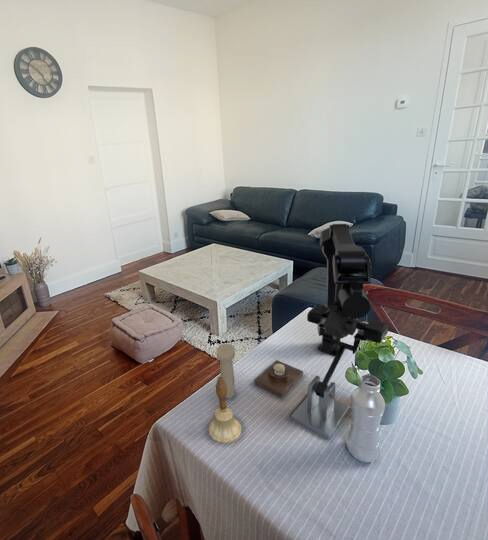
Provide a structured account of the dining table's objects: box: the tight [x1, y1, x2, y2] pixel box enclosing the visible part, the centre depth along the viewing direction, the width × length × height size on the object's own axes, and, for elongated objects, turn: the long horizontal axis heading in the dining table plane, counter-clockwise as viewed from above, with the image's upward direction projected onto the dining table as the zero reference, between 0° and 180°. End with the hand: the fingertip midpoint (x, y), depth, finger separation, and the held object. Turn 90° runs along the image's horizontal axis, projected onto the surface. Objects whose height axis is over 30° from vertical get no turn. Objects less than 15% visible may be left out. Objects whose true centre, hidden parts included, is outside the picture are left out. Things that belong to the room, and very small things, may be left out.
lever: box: [314, 340, 354, 398], centre depth 86 cm, size 16×5×2 cm, turn 136°
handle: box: [216, 343, 236, 399], centre depth 93 cm, size 5×6×15 cm
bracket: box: [290, 375, 350, 440], centre depth 84 cm, size 12×10×10 cm
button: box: [274, 364, 285, 375], centre depth 98 cm, size 3×3×2 cm
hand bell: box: [208, 376, 243, 444], centre depth 82 cm, size 8×8×16 cm
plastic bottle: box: [346, 374, 386, 463], centre depth 71 cm, size 6×7×20 cm
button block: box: [254, 359, 304, 399], centre depth 99 cm, size 12×9×4 cm
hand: (343, 349), depth 90 cm, fingers closed on lever, 5 cm apart
